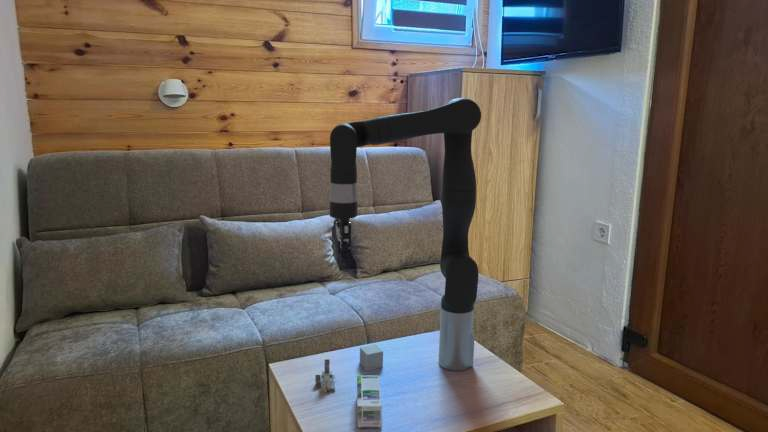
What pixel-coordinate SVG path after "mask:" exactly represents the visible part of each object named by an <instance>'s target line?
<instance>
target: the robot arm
mask: <svg viewBox="0 0 768 432" xmlns="http://www.w3.org/2000/svg"><path fill="white" fill-rule="evenodd" d="M481 110H482V109H481V108H480V106H479V105H478V104H477V102H475V100H472V99H471V98H468V97H467V98H466V97H457V98H454V99H451V100H449V101H448V102H447V103H446V104H444V105H442V106H439V107H435V108H433V109H428V110H423V111H415V112H406V113H398V114H391V115H390V114H389V115H384V116H378V117H374V118H370V119H367V120H362V121H361V120H360V121H352V122H345V123H340V124H337V125H336V126H335V127H333V129H332V130H331V132H330V134H329V135H330V136H329V147H330V148H329V150H330V160H331V161H330V185H329V217H330V218H333V219H336V222H335V235H336V239H337V254H340V261H341V263H349V262H350V249H351V248H352V228H353V227H352V224H351V222H350V219H355V218H357V217H358V206H359V205H358V201H359V200H358V199H359V198H358V197H359V196H358V194H359V193H358V192H359V190H358V183H357V182H358V169H357V168H358V167H357V150H358V149H357V148H360V147H365V146H379V145H384V144H389V143H396V142H400V141H403V140H409V139H412V138H418V137H422V136H423V137H424V136H429V135H430V136H431V135H437V134H443V140H444V141H443V142H444V157H443V168H442V185H441V187H442V191H441V194H442V195H441V196H442V197H441V199H442V200H441V205H442V206H441V207H442V212H441V213H442V214H441V215H442V233H443V234H442V242H441V243H442V244H441V252H440V260H439V269H440V272H441V274H442V276H443V277H444V278H445V284H444V294H443V295H442V297H441V299H440V320H439V321H440V322H439V323H440V325H439V342H438V343H439V347H438V364H439V366H440V367H441V368H444V369H446V370H449V371H458V372H459V371H465V370H468V369H469V368H474V356H475V355H474V354H475V353H474V352H475V338H476V337H475V335H474V334H473V326H474V310H475V309H474V308H475V306H474V305H475V303H476V300H477V296H478V289H479V288H478V285H479V266H478V264H477V262H476V261H475V260H474V259H473V258H472V257H471V256H470V251H469V233H470V232H469V230H470V227H471V223H472V221H473V218H474V214H475V210H476V205H477V204H476V203H477V177H476V172H475V171H476V170H475V165H474V161H473V156H472V155H473V154H472V140H473V139H472V138H473V131H474V130H475V129H476V128H477V127H478V126H479V124H480V122H481V121H482V112H481Z"/></svg>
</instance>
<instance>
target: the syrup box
mask: <svg viewBox="0 0 768 432" xmlns="http://www.w3.org/2000/svg"><path fill="white" fill-rule="evenodd" d="M380 385H381V383H380V375H357V376H356V397H357V398H356V402H357V403H356V408H357V409H356V412H357V416H356V417H357V428H382V427H383V425H382V424H383V417H382V416H383V414H382V413H383V412H382V411H383V404H382V403H383V402H382V396H381V386H380Z"/></svg>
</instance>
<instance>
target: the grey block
mask: <svg viewBox="0 0 768 432" xmlns="http://www.w3.org/2000/svg"><path fill="white" fill-rule="evenodd" d="M359 363H360V365H361V366H362V367H363V368H364V370H365V371H371V370H376V369H380V368H384V367H383V366H384V350H382V349H381V348H380V347H379V346H378V345H377V344H371V345H366V346H361V347H359Z"/></svg>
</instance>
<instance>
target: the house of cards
mask: <svg viewBox="0 0 768 432" xmlns="http://www.w3.org/2000/svg"><path fill="white" fill-rule="evenodd" d="M330 360H331V359H328V358H327V359H324V364H323V365H324V371H321V374H315V375H314V376H315V378H314V379H315V381H314V382H315V387H316V388H317V387H318V388H320V392H321V393H323V392H324V393H327V392H336V386H335V385H336V380H335V378H336V376H335V375H336V374H333V373H334V372H333V371H331V368H330V365H331V362H330Z"/></svg>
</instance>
